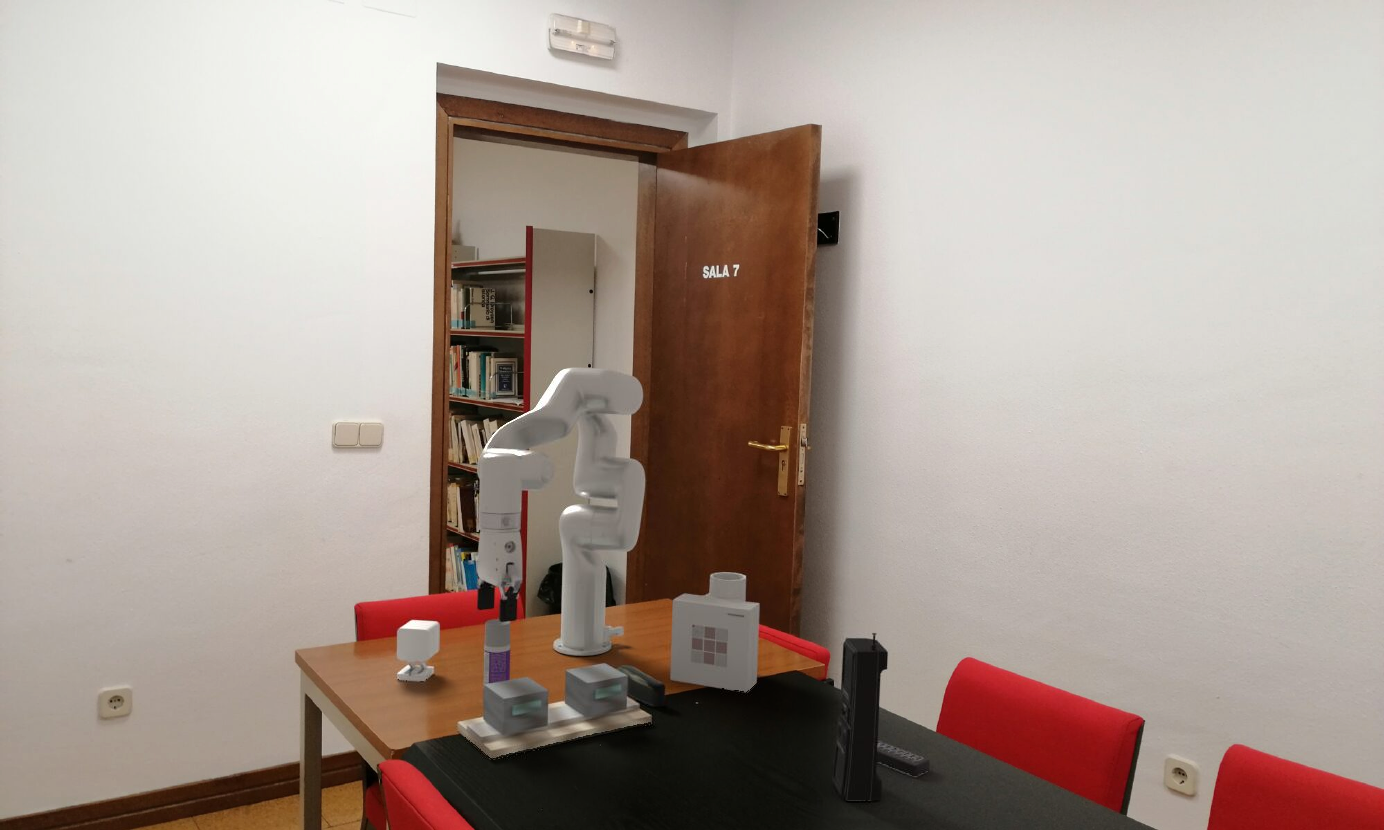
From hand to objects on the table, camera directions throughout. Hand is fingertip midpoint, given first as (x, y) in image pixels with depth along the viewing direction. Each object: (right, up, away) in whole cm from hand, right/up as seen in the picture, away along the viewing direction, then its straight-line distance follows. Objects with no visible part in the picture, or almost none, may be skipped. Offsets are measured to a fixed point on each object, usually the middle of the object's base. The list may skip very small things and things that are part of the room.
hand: (496, 614), depth 178 cm
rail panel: (+12, -18, -9) cm, 23 cm away
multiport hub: (+67, -20, -18) cm, 72 cm away
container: (0, -17, +2) cm, 17 cm away
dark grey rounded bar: (+25, -17, +8) cm, 31 cm away
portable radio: (+60, -21, -30) cm, 70 cm away
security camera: (-19, -15, +15) cm, 29 cm away
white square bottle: (+42, -17, +23) cm, 51 cm away
